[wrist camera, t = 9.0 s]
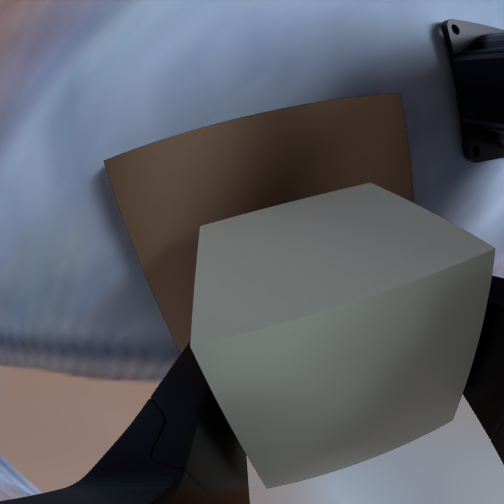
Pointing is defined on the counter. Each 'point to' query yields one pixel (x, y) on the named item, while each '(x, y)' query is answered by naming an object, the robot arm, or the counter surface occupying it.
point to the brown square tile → (249, 180)
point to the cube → (336, 326)
